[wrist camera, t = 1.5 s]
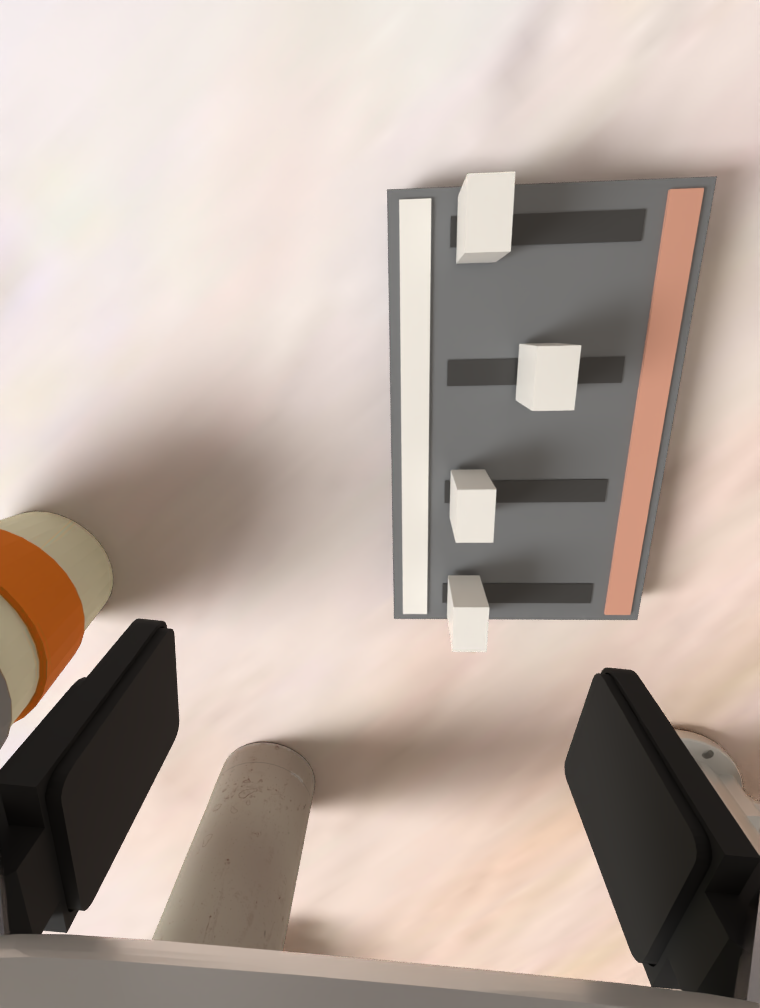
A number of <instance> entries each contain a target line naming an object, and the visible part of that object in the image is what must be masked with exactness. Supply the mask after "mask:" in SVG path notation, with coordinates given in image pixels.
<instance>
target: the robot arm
mask: <svg viewBox="0 0 760 1008" xmlns="http://www.w3.org/2000/svg"><path fill="white" fill-rule="evenodd" d="M178 728H179V709H178V691H177V673H176V655H175V637H174V631H173V629H168V628H167V625H166V623H165V622H164V621H157V620H148V619H136V620H135V621H134V622H133V623H132V624H131V625H130V626H129V627H128V629H127V630H126V631H125V632H124V633H123V635H122V636H121V637H120V638H119V639H118V640H117V642H116V643H115V644H114V645H113V646H112V648H111V649H110V650H109V651H108V652H107V654H106V655H105V656H104V657H103V658H102V660H101V661H100V662H99V663H98V664H97V666H96V667H95V668H94V669H93V670H92V672H91V673H90V674H89V675H88V676H87V678H86V677H83V678H81V679H79V680H78V681H77V682H75V683H74V684H73V685H72V686H71V688H70V689H69V690H68V691H67V692H66V693H65V695H64V696H63V697H62V698H61V699H60V700H59V702H58V703H57V704H56V705H55V706H54V707H53V709H52V710H51V711H50V712H49V713H48V714H47V716H46V717H45V718H44V719H43V720H42V721H41V723H40V724H39V725H38V726H37V727H36V728H35V730H34V731H33V732H32V733H31V734H30V735H29V737H28V738H27V739H26V740H25V741H24V742H23V744H22V745H21V746H20V747H19V748H18V749H17V751H16V752H15V753H14V754H13V755H12V756H11V758H10V759H9V760H8V761H7V762H6V763H5V765H4V766H3V767H2V768H1V769H0V1008H760V800H754V799H753V798H751V797H750V796H747V794H746V793H745V792H744V790H743V783H742V777H741V774H740V772H739V770H738V768H737V766H736V764H735V763H734V762H733V760H732V759H731V758H730V756H729V755H728V754H727V752H726V751H725V750H724V749H722V748H721V747H720V746H719V745H718V744H717V743H715V742H714V741H712V740H710V739H708V738H707V737H705V736H702V735H699V734H696V733H693V732H689V731H683V730H677V729H674V728H673V727H672V725H671V724H670V722H669V721H668V719H667V718H666V716H665V715H664V713H663V712H662V710H661V709H660V707H659V706H658V704H657V703H656V702H655V700H654V699H653V697H652V696H651V694H650V693H649V691H648V690H647V688H646V687H645V685H644V684H643V682H642V681H641V679H640V678H639V676H638V675H637V674H636V673H635V672H634V671H632V670H626V669H616V668H604V669H603V670H602V672H601V674H600V673H598V674H596V675H594V678H593V680H592V683H591V686H590V689H589V692H588V695H587V698H586V701H585V704H584V707H583V710H582V713H581V716H580V719H579V722H578V725H577V728H576V730H575V733H574V736H573V739H572V742H571V745H570V748H569V751H568V754H567V757H566V760H565V775H566V779H567V782H568V785H569V788H570V790H571V793H572V796H573V798H574V801H575V804H576V806H577V809H578V812H579V814H580V817H581V820H582V822H583V825H584V828H585V830H586V833H587V836H588V839H589V841H590V844H591V847H592V849H593V852H594V855H595V857H596V860H597V863H598V865H599V868H600V871H601V873H602V876H603V879H604V881H605V884H606V887H607V890H608V892H609V895H610V898H611V900H612V903H613V906H614V908H615V911H616V914H617V916H618V919H619V922H620V924H621V927H622V930H623V932H624V935H625V938H626V941H627V943H628V946H629V949H630V951H631V953H632V955H633V957H634V958H635V960H636V961H637V962H639V963H643V966H644V968H645V971H646V973H647V976H648V979H649V981H650V984H651V987H647V986H639V985H631V984H622V983H613V982H603V981H593V980H583V979H573V978H562V977H552V976H542V975H532V974H522V973H512V972H502V971H492V970H482V969H471V968H461V967H450V966H439V965H429V964H418V963H407V962H396V961H386V960H375V959H364V958H353V957H342V956H331V955H320V954H309V953H298V952H287V951H275V950H264V949H252V948H240V947H229V946H217V945H206V944H194V943H183V942H171V941H159V940H144V939H128V938H113V937H98V936H83V935H66V934H42V932H43V931H54V932H64V933H67V932H68V930H69V928H70V926H71V924H72V922H73V920H74V918H75V916H76V914H77V912H78V911H79V910H82V911H85V910H86V909H88V908H89V906H90V905H91V903H92V902H93V900H94V898H95V896H96V894H97V892H98V890H99V888H100V886H101V884H102V882H103V880H104V878H105V877H106V875H107V873H108V871H109V869H110V867H111V865H112V863H113V861H114V859H115V857H116V855H117V853H118V851H119V849H120V847H121V845H122V843H123V841H124V839H125V837H126V835H127V833H128V831H129V829H130V827H131V825H132V823H133V821H134V819H135V817H136V815H137V813H138V812H139V810H140V808H141V806H142V804H143V802H144V800H145V798H146V796H147V794H148V792H149V790H150V788H151V786H152V784H153V782H154V780H155V778H156V776H157V774H158V772H159V770H160V768H161V766H162V764H163V762H164V760H165V758H166V756H167V754H168V752H169V750H170V748H171V747H172V745H173V743H174V741H175V738H176V736H177V732H178ZM655 987H658V988H655ZM664 988H668V989H664Z"/></svg>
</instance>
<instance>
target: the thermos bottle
mask: <svg viewBox="0 0 760 1008" xmlns="http://www.w3.org/2000/svg"><path fill="white" fill-rule="evenodd" d="M314 787H315V778H314V774H313V771H312V769H311V767H310V765H309V764H308V763H307V761H306V760H305V759H304V758H303V757H302V756H301V755H299V754H298V753H297V752H295V751H293V750H292V749H290V748H287V747H285V746H282V745H278V744H274V743H265V742H261V743H252V744H248V745H245V746H243V747H240V748H238V749H237V750H235V751H234V752H233V753H232V754H231V755H230V756H229V757H228V758H227V759H226V761H225V764H224V766H223V768H222V770H221V773H220V775H219V777H218V780H217V782H216V784H215V787H214V789H213V792H212V794H211V797H210V800H209V802H208V805H207V808H206V810H205V812H204V815H203V817H202V819H201V822H200V824H199V826H198V829H197V831H196V834H195V836H194V838H193V841H192V843H191V846H190V848H189V851H188V853H187V856H186V858H185V860H184V863H183V865H182V868H181V870H180V873H179V875H178V877H177V880H176V882H175V885H174V887H173V890H172V892H171V895H170V897H169V899H168V902H167V904H166V907H165V909H164V912H163V914H162V916H161V919H160V921H159V924H158V926H157V929H156V931H155V933H154V936H153V938H152V940H159V941H171V942H183V943H194V944H206V945H217V946H229V947H240V948H252V949H264V950H275V951H283V947H284V942H285V937H286V932H287V927H288V921H289V916H290V911H291V906H292V901H293V896H294V890H295V885H296V880H297V875H298V870H299V865H300V860H301V854H302V849H303V844H304V839H305V834H306V829H307V824H308V818H309V813H310V808H311V803H312V798H313V793H314Z"/></svg>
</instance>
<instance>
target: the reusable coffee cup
mask: <svg viewBox="0 0 760 1008" xmlns="http://www.w3.org/2000/svg"><path fill="white" fill-rule="evenodd" d="M112 588H113V573H112V567H111V564H110V561H109V559H108V556H107V554H106V553H105V551H104V549H103V548H102V546H101V545H100V543H99V542H98V541H97V540H96V539H95V537H94V536H93V535H92V534H90V533H89V532H88V531H87V530H86V529H85V528H83V527H82V526H80V525H79V524H77V523H76V522H74V521H72V520H70V519H68V518H65V517H63V516H61V515H57V514H53V513H49V512H37V511H34V512H27V513H22V514H18V515H15V516H12V517H9V518H5V519H2V520H0V749H1V747H2V746H3V744H4V742H5V741H6V739H7V737H8V734H9V730H10V727H11V725H12V724H13V723H15V722H16V721H18V720H20V719H22V718H24V717H25V716H26V715H27V714H28V713H29V712H30V711H31V710H32V709H33V708H34V707H35V706H36V705H37V704H38V702H39V701H40V700H41V698H42V697H43V696H44V694H45V693H46V692H47V690H48V689H49V688H50V686H51V685H52V684H53V682H54V681H55V680H56V678H57V677H58V676H59V674H60V673H61V672H62V671H63V669H64V668H65V667H66V665H67V664H68V663H69V661H70V660H71V659H72V657H73V656H74V654H75V653H76V651H77V649H78V648H79V646H80V645H81V641H82V638H83V634H84V631H85V630H86V628H87V627H88V626H89V624H90V623H91V622H92V621H93V619H94V618H95V617H96V615H97V614H98V613H99V612H100V610H101V609H102V608H103V606H104V605H105V604H106V602H107V600H108V599H109V597H110V594H111V591H112Z"/></svg>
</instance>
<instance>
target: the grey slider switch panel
mask: <svg viewBox="0 0 760 1008" xmlns="http://www.w3.org/2000/svg"><path fill="white" fill-rule="evenodd" d="M716 178H717V176H716V177H691V178H666V179H641V180H615V181H590V182H565V183H540V184H515V172H491V173H467V176H466V178H465V180H464V183H463V185H462V187H439V188H414V189H389V190H387V212H388V273H389V335H390V397H391V458H392V520H393V582H394V619H447V620H448V626H449V633H450V640H451V646H452V652H487V639H488V622H489V619H548V620H637V618H638V613H639V607H640V602H641V596H642V590H643V585H644V579H645V574H646V568H647V563H648V557H649V551H650V546H651V540H652V535H653V529H654V524H655V518H656V512H657V507H658V501H659V496H660V490H661V485H662V479H663V473H664V468H665V462H666V457H667V451H668V446H669V440H670V434H671V429H672V423H673V418H674V412H675V407H676V401H677V395H678V390H679V384H680V379H681V373H682V368H683V362H684V356H685V351H686V345H687V340H688V334H689V329H690V323H691V317H692V312H693V306H694V301H695V295H696V290H697V284H698V278H699V273H700V267H701V262H702V256H703V251H704V245H705V239H706V234H707V228H708V223H709V217H710V212H711V206H712V200H713V195H714V189H715V184H716ZM530 343H564V344H574V345H581V353H580V362H579V371H578V381H577V390H576V399H575V408H574V410H564V411H532V410H530V409H528V408H527V407H525V406H524V405H522V404H521V403H519V402H518V401H516V386H517V371H518V357H519V344H530Z"/></svg>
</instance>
